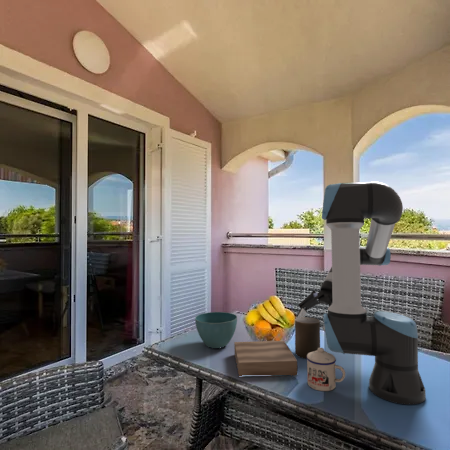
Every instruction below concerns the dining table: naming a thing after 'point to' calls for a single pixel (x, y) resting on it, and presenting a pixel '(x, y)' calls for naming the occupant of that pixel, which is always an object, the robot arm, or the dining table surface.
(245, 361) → the block
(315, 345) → the pillar candle
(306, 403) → the dining table surface
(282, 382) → the dining table surface
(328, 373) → the teacup with lid
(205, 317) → the plant pot
